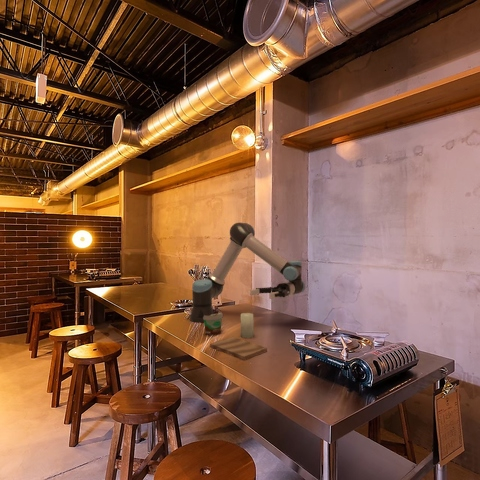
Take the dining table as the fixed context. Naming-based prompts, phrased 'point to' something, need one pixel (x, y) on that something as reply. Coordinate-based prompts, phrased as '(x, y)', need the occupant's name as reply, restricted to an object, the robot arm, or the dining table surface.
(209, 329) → the food container
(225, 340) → the walnut board
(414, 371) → the dining table surface
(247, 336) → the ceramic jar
